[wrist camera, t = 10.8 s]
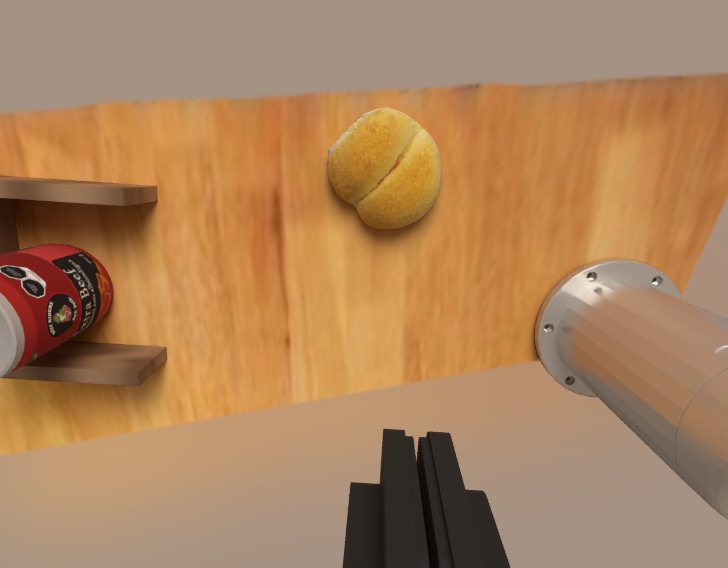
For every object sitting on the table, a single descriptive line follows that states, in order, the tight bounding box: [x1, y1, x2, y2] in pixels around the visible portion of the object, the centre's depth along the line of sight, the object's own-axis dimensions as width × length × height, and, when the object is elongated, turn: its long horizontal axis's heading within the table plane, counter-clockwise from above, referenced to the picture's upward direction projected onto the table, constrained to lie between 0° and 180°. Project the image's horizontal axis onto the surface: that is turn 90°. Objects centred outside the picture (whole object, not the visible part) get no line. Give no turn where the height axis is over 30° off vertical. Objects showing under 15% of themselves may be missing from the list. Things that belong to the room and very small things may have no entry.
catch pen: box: [0, 176, 167, 386], centre depth 34 cm, size 13×15×5 cm
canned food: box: [0, 244, 113, 378], centre depth 32 cm, size 8×8×11 cm
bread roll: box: [327, 108, 442, 229], centre depth 33 cm, size 8×9×4 cm
